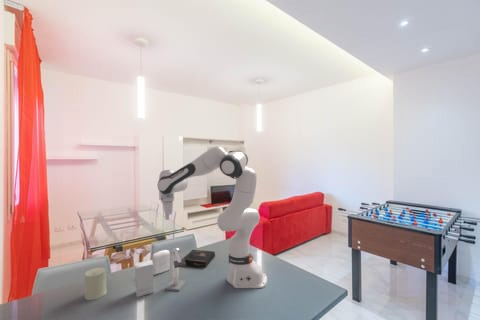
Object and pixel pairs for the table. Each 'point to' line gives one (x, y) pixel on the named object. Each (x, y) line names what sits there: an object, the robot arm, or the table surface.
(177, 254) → the swing arm
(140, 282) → the skincare box
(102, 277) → the can
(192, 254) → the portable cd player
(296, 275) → the table surface
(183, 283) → the post
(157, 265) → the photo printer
